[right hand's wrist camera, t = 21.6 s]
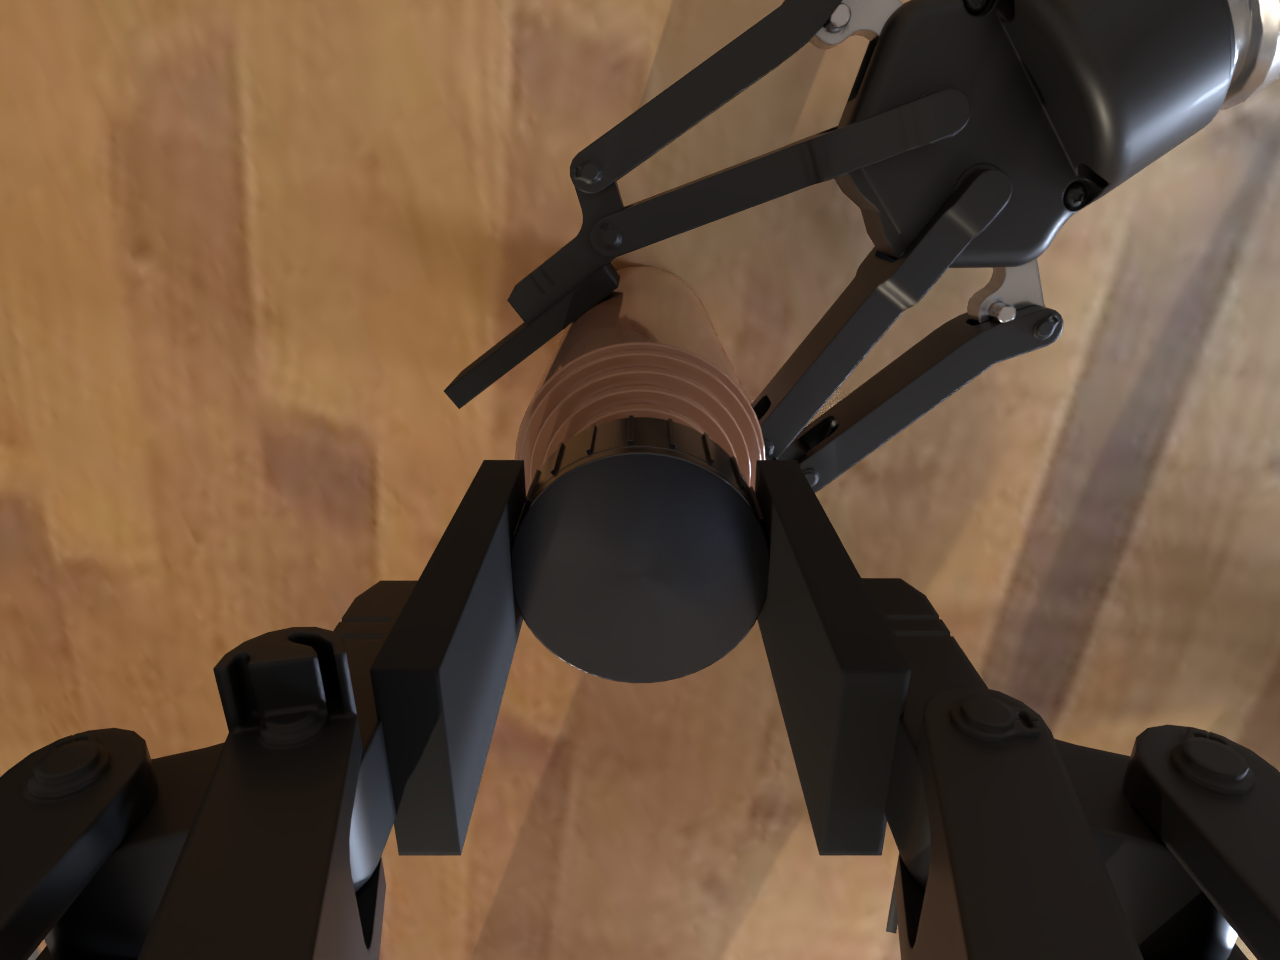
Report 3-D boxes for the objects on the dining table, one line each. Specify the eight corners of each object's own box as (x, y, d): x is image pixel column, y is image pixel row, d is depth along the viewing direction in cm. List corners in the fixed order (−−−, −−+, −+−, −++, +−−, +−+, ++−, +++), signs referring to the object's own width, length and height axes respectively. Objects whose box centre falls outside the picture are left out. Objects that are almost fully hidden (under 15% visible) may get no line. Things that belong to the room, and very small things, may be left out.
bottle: (738, 345, 32) (868, 570, 14) (633, 431, 33) (625, 740, 15) (647, 234, 30) (659, 324, 12) (541, 330, 32) (408, 540, 13)
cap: (651, 664, 16) (652, 726, 14) (476, 536, 15) (453, 587, 13) (806, 515, 15) (829, 563, 13) (627, 363, 13) (625, 393, 12)
